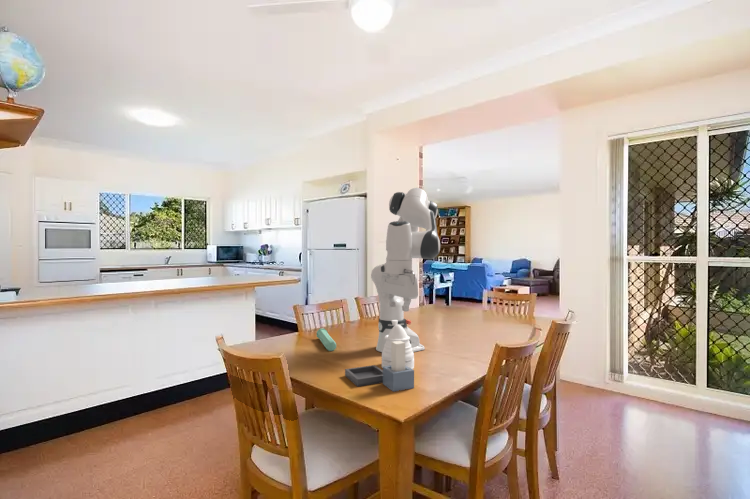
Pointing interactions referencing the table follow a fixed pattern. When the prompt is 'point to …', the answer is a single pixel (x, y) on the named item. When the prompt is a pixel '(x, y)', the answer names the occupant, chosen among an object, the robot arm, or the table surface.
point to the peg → (397, 356)
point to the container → (326, 339)
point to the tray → (365, 375)
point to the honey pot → (397, 335)
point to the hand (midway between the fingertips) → (398, 308)
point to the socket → (398, 378)
